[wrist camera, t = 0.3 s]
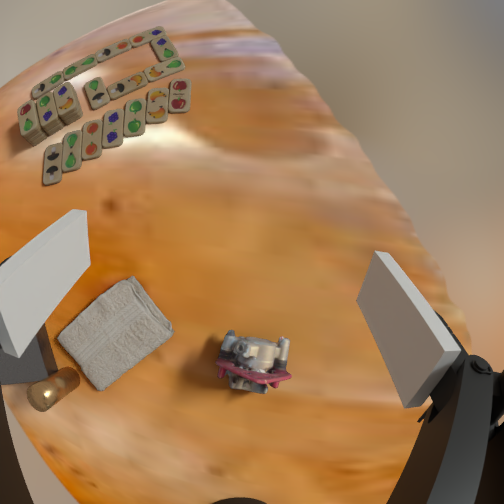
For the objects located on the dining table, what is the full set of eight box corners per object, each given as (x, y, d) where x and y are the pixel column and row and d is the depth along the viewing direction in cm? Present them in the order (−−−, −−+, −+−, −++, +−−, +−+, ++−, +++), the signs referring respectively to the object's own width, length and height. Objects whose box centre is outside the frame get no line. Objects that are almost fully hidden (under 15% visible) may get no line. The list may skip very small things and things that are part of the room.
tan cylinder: (83, 387, 42) (53, 410, 30) (65, 389, 41) (33, 412, 29) (75, 365, 42) (43, 384, 30) (57, 368, 42) (23, 386, 30)
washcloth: (179, 329, 46) (178, 331, 43) (104, 392, 43) (98, 397, 40) (132, 270, 46) (127, 269, 43) (60, 336, 43) (52, 339, 40)
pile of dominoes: (44, 193, 45) (30, 184, 40) (24, 97, 46) (14, 84, 41) (211, 106, 51) (213, 89, 46) (161, 27, 52) (159, 11, 47)
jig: (59, 373, 41) (41, 384, 35) (6, 380, 39) (-13, 389, 32) (34, 272, 43) (12, 269, 36) (-16, 288, 40) (-38, 287, 34)
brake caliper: (206, 398, 43) (218, 372, 34) (216, 339, 50) (229, 300, 42) (276, 409, 44) (306, 386, 36) (279, 351, 52) (306, 316, 44)
